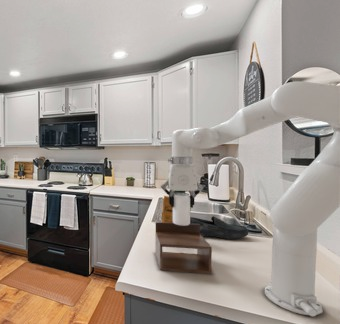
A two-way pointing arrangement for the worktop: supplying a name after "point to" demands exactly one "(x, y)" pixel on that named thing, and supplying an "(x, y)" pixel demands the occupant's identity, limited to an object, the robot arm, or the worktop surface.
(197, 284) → the worktop surface
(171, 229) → the shelf
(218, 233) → the loafer
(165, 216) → the coffee package
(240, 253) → the worktop surface
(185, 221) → the can
